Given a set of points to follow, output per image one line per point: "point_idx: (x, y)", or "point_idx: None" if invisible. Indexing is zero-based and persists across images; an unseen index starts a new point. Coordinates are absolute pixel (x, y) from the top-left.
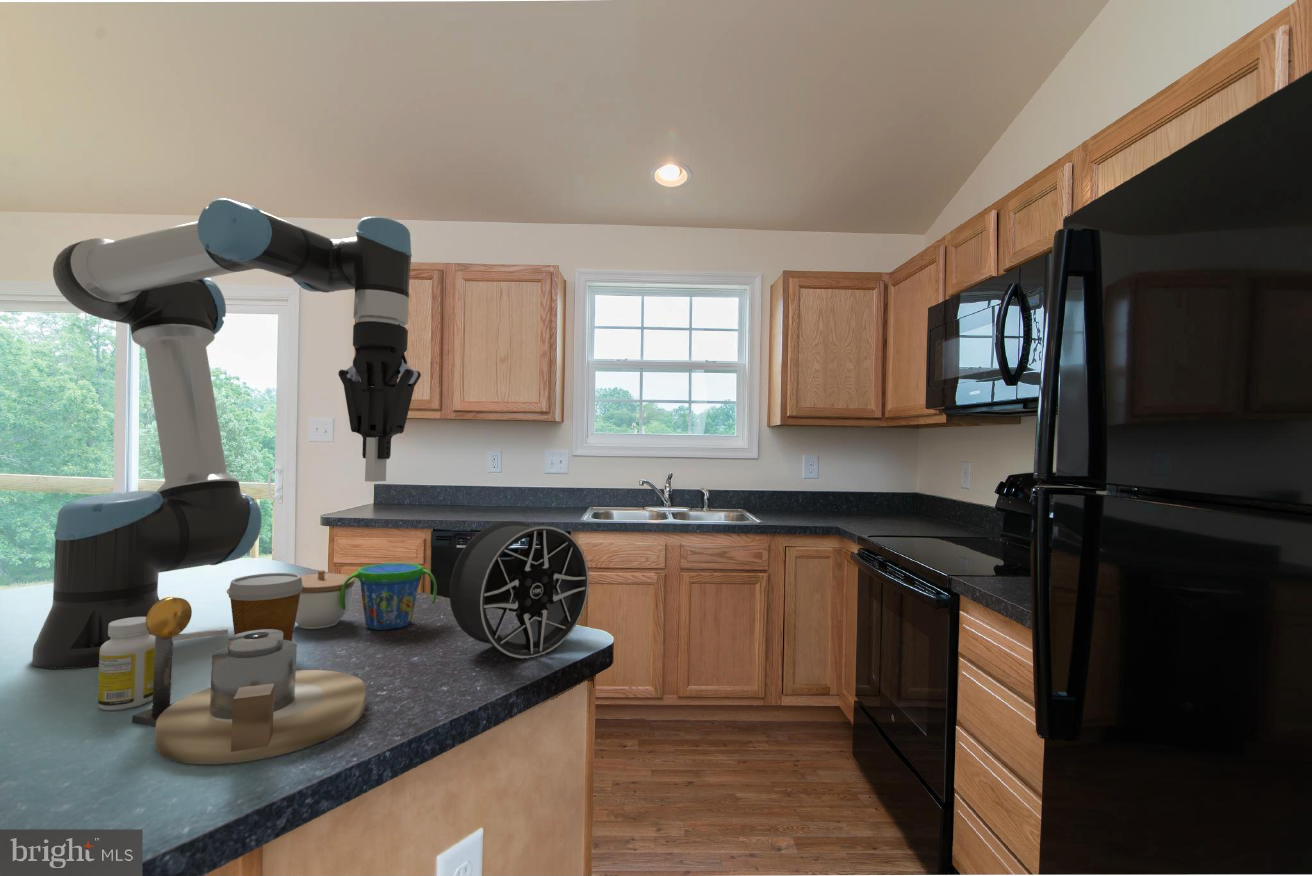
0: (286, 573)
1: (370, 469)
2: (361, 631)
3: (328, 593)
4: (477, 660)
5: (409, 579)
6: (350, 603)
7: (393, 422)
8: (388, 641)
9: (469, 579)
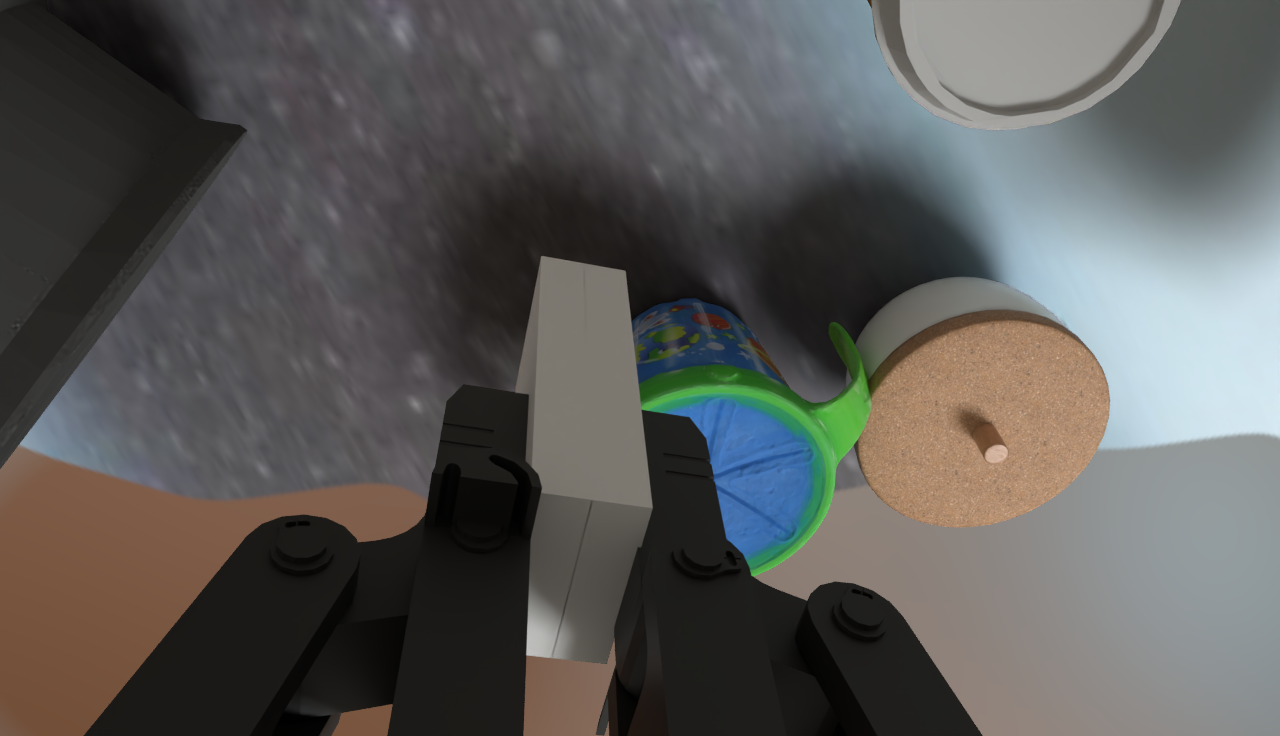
0: (1008, 116)
1: (574, 308)
2: (746, 290)
3: (903, 340)
4: (162, 38)
5: None
6: None
7: (215, 614)
8: (595, 199)
9: (59, 107)
